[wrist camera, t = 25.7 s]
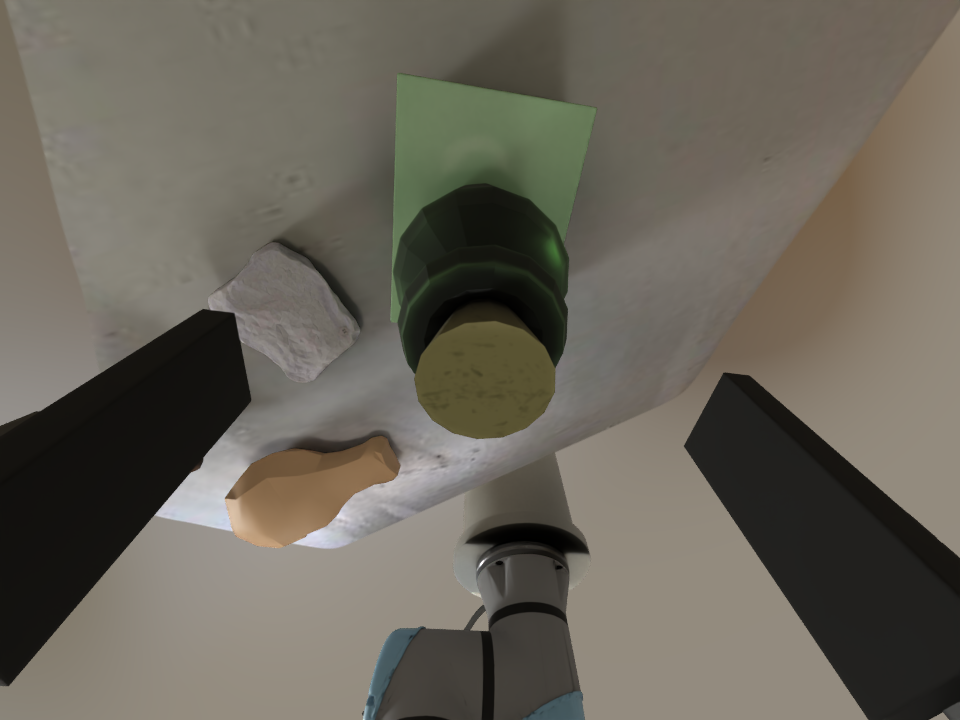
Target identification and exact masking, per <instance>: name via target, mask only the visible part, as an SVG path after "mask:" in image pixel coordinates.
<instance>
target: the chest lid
mask: <svg viewBox="0 0 960 720" xmlns="http://www.w3.org/2000/svg"><path fill="white" fill-rule="evenodd" d="M596 111H597V108H596V107H591V106H586V105H580V104H574V103H569V102H563V101H557V100H551V99H546V98H540V97H534V96H529V95H523V94H517V93H511V92H506V91H500V90H494V89H489V88H483V87H477V86H471V85H466V84H460V83H454V82H449V81H443V80H437V79H431V78H426V77H420V76H414V75H409V74H403V73H398V74H397V103H396V140H395V176H394V213H393V249H392V271H393V267H394V262H395V258H396V253H397V249H398V244H399V239H400V237H401V235H402V234H403V233H404V231H405V230H406V229H407V227H408V226H409V225H410V223H411V222H412V220H413V219H414V218H415V216H416V215H417V214H418V212H419V211H420V210H421V208H423V207H424V206H426V205H428V204H430V203H432V202H433V201H435V200H437V199H439V198H440V197H442V196H444V195H446V194H448V193H449V192H451V191H453V190H455V189H457V188H459V187H462V186H464V185H470V184H482V183H487V184H490V185H492V186H495V187H498V188H501V189H504V190H506V191H509V192H512V193H514V194H517V195H520V196H522V197H525V198H528V199H530V200H531V201H532V202H533V203H534V204H535V205H536V206H537V207H538V208H539V209H540V210H541V211H542V212H543V213H544V214H545V215H546V216H547V217H548V218H549V219H550V220H551V221H552V222H553V223H554V224H556V226H557V229H558V231H559V234H560V236H561V239H562V242H563V244H564V240H565V236H566V232H567V228H568V224H569V220H570V216H571V212H572V208H573V204H574V200H575V196H576V192H577V188H578V184H579V180H580V176H581V172H582V168H583V164H584V160H585V156H586V152H587V148H588V144H589V140H590V136H591V132H592V128H593V123H594V119H595V115H596ZM400 309H401V307H400V305H399V303H398V297H397V292H396V287H395V282H394V277H393V272H392V286H391V322H397V321H398V317H399V313H400ZM397 323H398V322H397Z"/></svg>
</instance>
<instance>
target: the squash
mask: <svg viewBox="0 0 960 720" xmlns="http://www.w3.org/2000/svg"><path fill="white" fill-rule="evenodd" d="M399 469H400V464H399V462H398V459H397V457H396V455H395V454H394V452H393V450H392V449H391V447H390V444H389V442H388V440H387V438H385V437H383V436H378V437H373V438H370V439H369V440H368V441H366V442H365V443H363V444H361V445H358V446H355V447H352V448H349V449H347V450H344V451H339V452H332V453H322V452H317V451H311V450H305V449H298V448H293V449H289V450H285V451H280V452H276V453H272V454H270V455H268V456H266V457H264V458H262V459H260V460H258V461H256V462H254V463H252V464H251V465H250V466H249V467H248V469H247V470H246V471H245V472H244V473H243V475H242V476H241V477H240V478H239V480H238V481H237V482H236V483H235V485H234V486H233V487H232V489H231V490H230V492H229V493H228V494H227V496H226V497H225V502H226V506H227V510H228V514H229V519H230V523H231V527H232V530H233V532H234V534H235V536H236V537H238V538H241V539H243V540H245V541H247V542H250V543H252V544H254V545H257V546H263V547H274V548H281V547H284V546H286V545H289V544H291V543H293V542H295V541H298V540H300V539H302V538H304V537H306V536H307V534H309V533H311V532H314V531H316V530H318V529H321V528H323V527H325V526H327V525H328V524H329V523H330V522H331V521H332V520H333V519H334V518H335V517H336V516H337V515H338V513H339V511H340V510H341V508H342V506H343V505H344V504H345V503H346V502H347V501H348V500H349V499H350V498H351V497H352V496H353V495H354V494H355V493H357V492H359V491H362V490H364V489H366V488H368V487H370V486H372V485H375V484H381V483H386V482H389V481H392V480H393V479H394V478H395V477H396V476H398V472H399Z"/></svg>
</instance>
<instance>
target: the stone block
mask: <svg viewBox="0 0 960 720" xmlns="http://www.w3.org/2000/svg"><path fill="white" fill-rule="evenodd" d="M208 303H209V310H215V311H223V312H231V313H235V317H236V322H237V328H238V333H239V338H240V341H241V342H243V343H245V344H246V345H248V346H250V347H252V348H254V349H256V350H258V351H260V352H262V353H263V354H265V355H266V356H268V357H269V358H271V360H272V361H273V362H274V363H276V364H277V365H279V366H280V367H281V368H282V370H283V371H284V372H285V374H286V375H287V376H288V377H289V378H290V379H292V380H293V381H296V382H309V381H313V380H315V379H316V378H317V376H318V375H320V374H321V373H322V372H323V371H324V370H325V368H326V367H327V365H328V364H330V363H331V362H332V361H333V360H335V359H336V358H337V357H338V356H339V355H340V354H341V353H343V352H344V351H346V350H347V349H348V348H349V347H350V346H352V345H353V344H354V343H355V341H356V340H357V338H358V336H359V333H360V328H359V326H358V324H357V321H356V319H355V318H353V316H352V315H351V314H350V312H349V311H348V310H347V309H346V308H345V307H344V305H343V304H342V303H341V301H340V299H339V298H338V297H337V295H336V294H335V293H334V292H333V291H332V290H331V289H330V287H329V285H328V283H327V282H326V281H325V280H324V279H323V277H322V275H321V274H320V273H319V272H318V271H317V270H316V269H315V268H314V266H313V264H312V263H311V261H310V260H309V259H308V258H306V257H304V256H303V255H300V254H298V253H296V252H294V251H292V250H290V249H288V248H287V247H285V246H283V245H281V244H280V243H277V242H276V243H275V242H271V243H269V244H267V245H266V246H264V247H263V248H261V249H260V250H258V251H256V252H255V253H254V254H252V256H251V259H250V261H249V262H248V264H247V265H245V267H244V268H243V269H242V271H241V272H240V273H239V274H238V275H237V276H236V277H235V278H234V279H232V280H230V281H229V282H228V283H226V284H225V285H223V286H222V287H220V288H218V289H217V290H216V291H215V292H214V293H212V294H211V295H210V296H209V298H208Z"/></svg>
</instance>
